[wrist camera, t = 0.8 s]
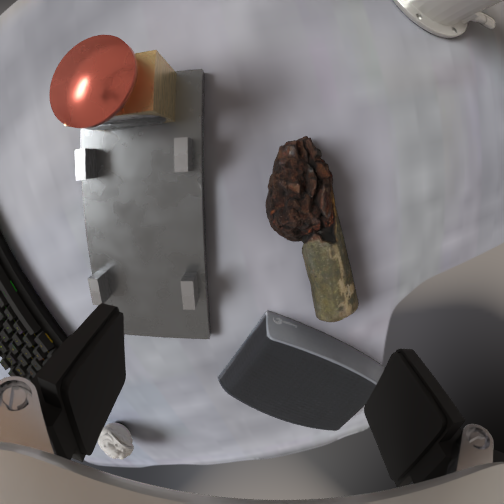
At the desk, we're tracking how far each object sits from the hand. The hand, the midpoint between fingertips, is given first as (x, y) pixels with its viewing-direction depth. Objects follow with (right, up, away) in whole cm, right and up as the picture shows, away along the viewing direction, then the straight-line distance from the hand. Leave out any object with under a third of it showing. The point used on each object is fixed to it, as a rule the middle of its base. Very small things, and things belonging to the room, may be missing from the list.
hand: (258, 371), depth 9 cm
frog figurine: (-21, -24, +30) cm, 44 cm away
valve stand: (-11, +8, +20) cm, 24 cm away
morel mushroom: (+5, +6, +21) cm, 23 cm away
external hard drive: (+7, -12, +27) cm, 30 cm away
